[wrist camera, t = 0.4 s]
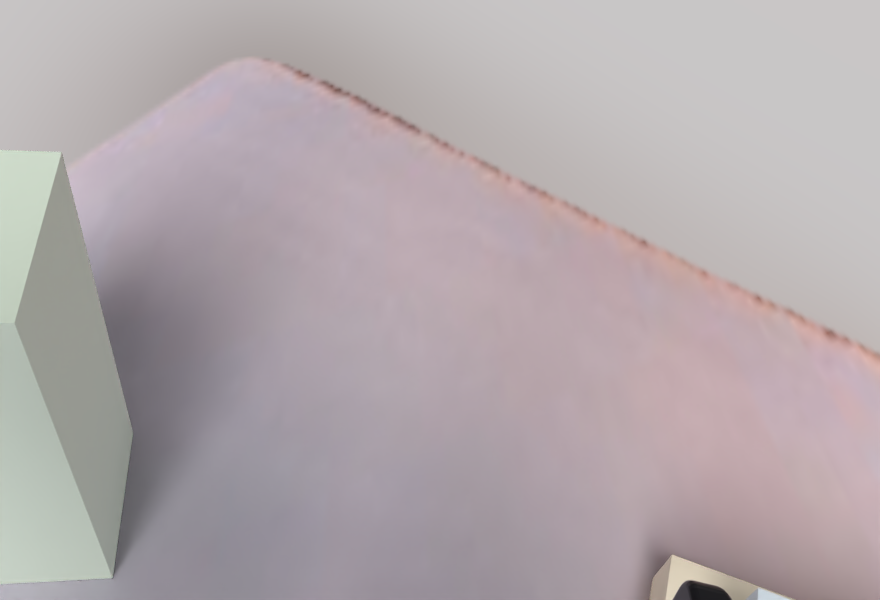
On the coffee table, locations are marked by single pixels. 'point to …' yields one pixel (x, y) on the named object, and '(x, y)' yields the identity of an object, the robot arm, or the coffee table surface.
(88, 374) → the column
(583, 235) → the coffee table surface
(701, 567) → the tower base
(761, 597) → the tower top
